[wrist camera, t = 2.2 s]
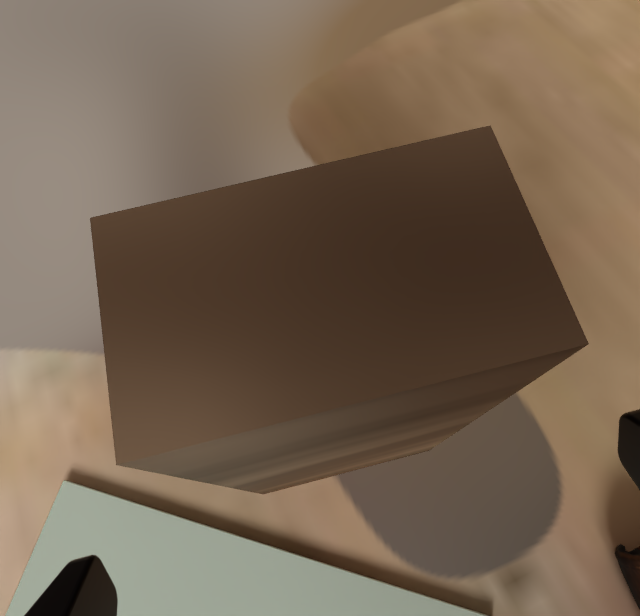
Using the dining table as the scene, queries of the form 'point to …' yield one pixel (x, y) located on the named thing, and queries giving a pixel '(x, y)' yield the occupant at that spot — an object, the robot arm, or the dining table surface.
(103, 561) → the mat
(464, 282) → the brown wooden block
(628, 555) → the sunglasses case
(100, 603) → the robot arm
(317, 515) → the dining table surface
